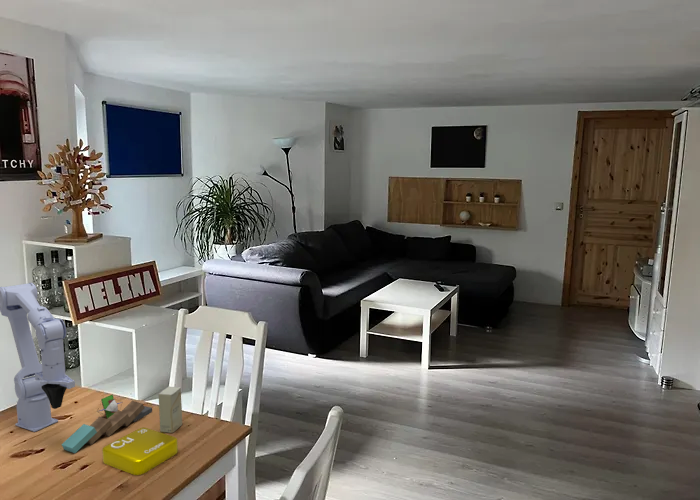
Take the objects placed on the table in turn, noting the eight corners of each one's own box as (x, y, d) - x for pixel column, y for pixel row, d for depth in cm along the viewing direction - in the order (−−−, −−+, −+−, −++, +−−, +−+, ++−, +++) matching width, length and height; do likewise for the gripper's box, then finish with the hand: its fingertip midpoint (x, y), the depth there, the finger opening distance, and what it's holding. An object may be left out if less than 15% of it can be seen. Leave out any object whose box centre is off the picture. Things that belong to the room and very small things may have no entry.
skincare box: (172, 433, 169) (171, 395, 167) (159, 432, 170) (157, 393, 168) (183, 424, 175) (181, 387, 173) (170, 422, 176) (168, 385, 174)
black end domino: (122, 415, 177) (141, 405, 185) (123, 421, 178) (141, 411, 185) (133, 417, 176) (152, 407, 183) (134, 423, 176) (152, 413, 183)
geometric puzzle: (89, 410, 179) (98, 394, 176) (108, 402, 185) (117, 386, 181) (102, 427, 177) (111, 411, 173) (120, 418, 183) (130, 403, 179)
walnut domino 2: (96, 427, 168) (118, 410, 174) (98, 432, 169) (120, 415, 175) (106, 431, 165) (127, 413, 171) (108, 436, 166) (129, 418, 172)
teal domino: (61, 444, 158) (83, 423, 164) (64, 449, 159) (86, 428, 165) (72, 448, 156) (94, 427, 162) (74, 453, 157) (96, 432, 163)
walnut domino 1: (78, 436, 163) (99, 416, 169) (80, 441, 164) (101, 421, 170) (88, 440, 161) (109, 420, 167) (91, 444, 162) (112, 424, 168)
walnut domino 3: (113, 418, 174) (132, 400, 180) (116, 423, 175) (134, 405, 181) (124, 422, 172) (142, 403, 178) (126, 426, 173) (144, 408, 179)
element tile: (138, 478, 146) (137, 461, 145) (99, 463, 153) (98, 446, 152) (181, 452, 159) (180, 436, 158) (143, 439, 166) (142, 424, 165)
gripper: (23, 362, 159) (27, 407, 162) (57, 371, 153) (61, 418, 155) (46, 354, 166) (49, 398, 168) (80, 363, 159) (83, 408, 161)
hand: (56, 407), depth 162 cm, fingers closed
